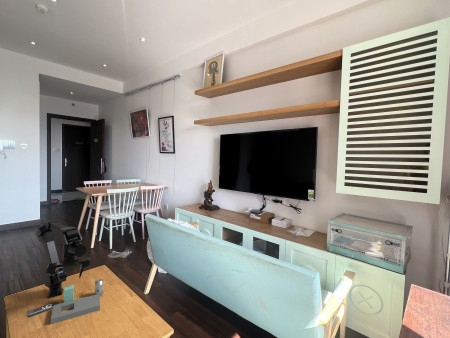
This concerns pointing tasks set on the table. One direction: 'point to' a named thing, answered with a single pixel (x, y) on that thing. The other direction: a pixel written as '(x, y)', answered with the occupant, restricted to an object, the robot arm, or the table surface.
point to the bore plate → (75, 308)
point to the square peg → (68, 293)
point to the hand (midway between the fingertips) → (69, 280)
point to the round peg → (99, 287)
